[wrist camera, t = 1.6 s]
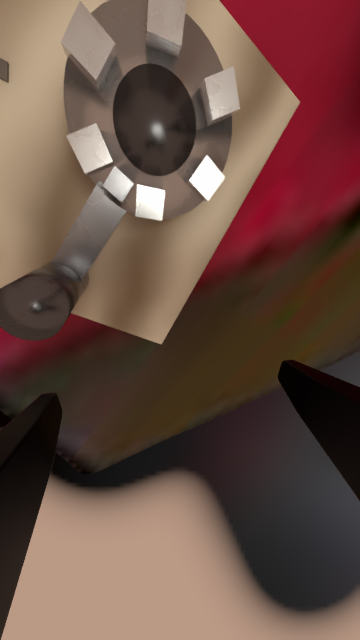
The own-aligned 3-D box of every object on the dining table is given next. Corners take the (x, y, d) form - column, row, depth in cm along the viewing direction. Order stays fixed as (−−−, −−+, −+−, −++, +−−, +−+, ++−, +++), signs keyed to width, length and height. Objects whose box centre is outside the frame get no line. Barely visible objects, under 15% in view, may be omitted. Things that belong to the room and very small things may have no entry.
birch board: (286, 111, 16) (302, 100, 14) (159, 337, 22) (161, 345, 21) (-111, -353, 7) (-172, -500, 6) (-129, 233, 14) (-161, 234, 12)
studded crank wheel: (131, -14, 11) (133, -357, 4) (239, 139, 14) (323, 77, 8) (-5, 255, 14) (-111, 284, 8) (110, 318, 18) (99, 371, 12)
